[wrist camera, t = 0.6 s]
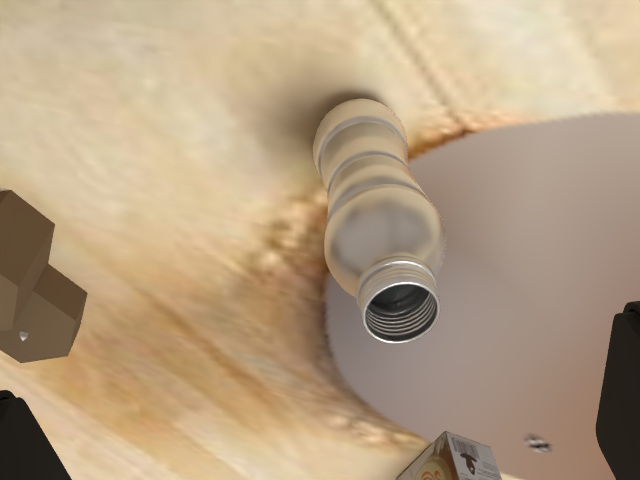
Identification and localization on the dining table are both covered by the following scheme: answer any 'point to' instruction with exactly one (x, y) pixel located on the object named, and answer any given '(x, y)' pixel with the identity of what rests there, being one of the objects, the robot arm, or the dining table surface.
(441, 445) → the coffee box
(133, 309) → the dining table surface
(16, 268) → the candle
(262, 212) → the dining table surface
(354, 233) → the plastic bottle
